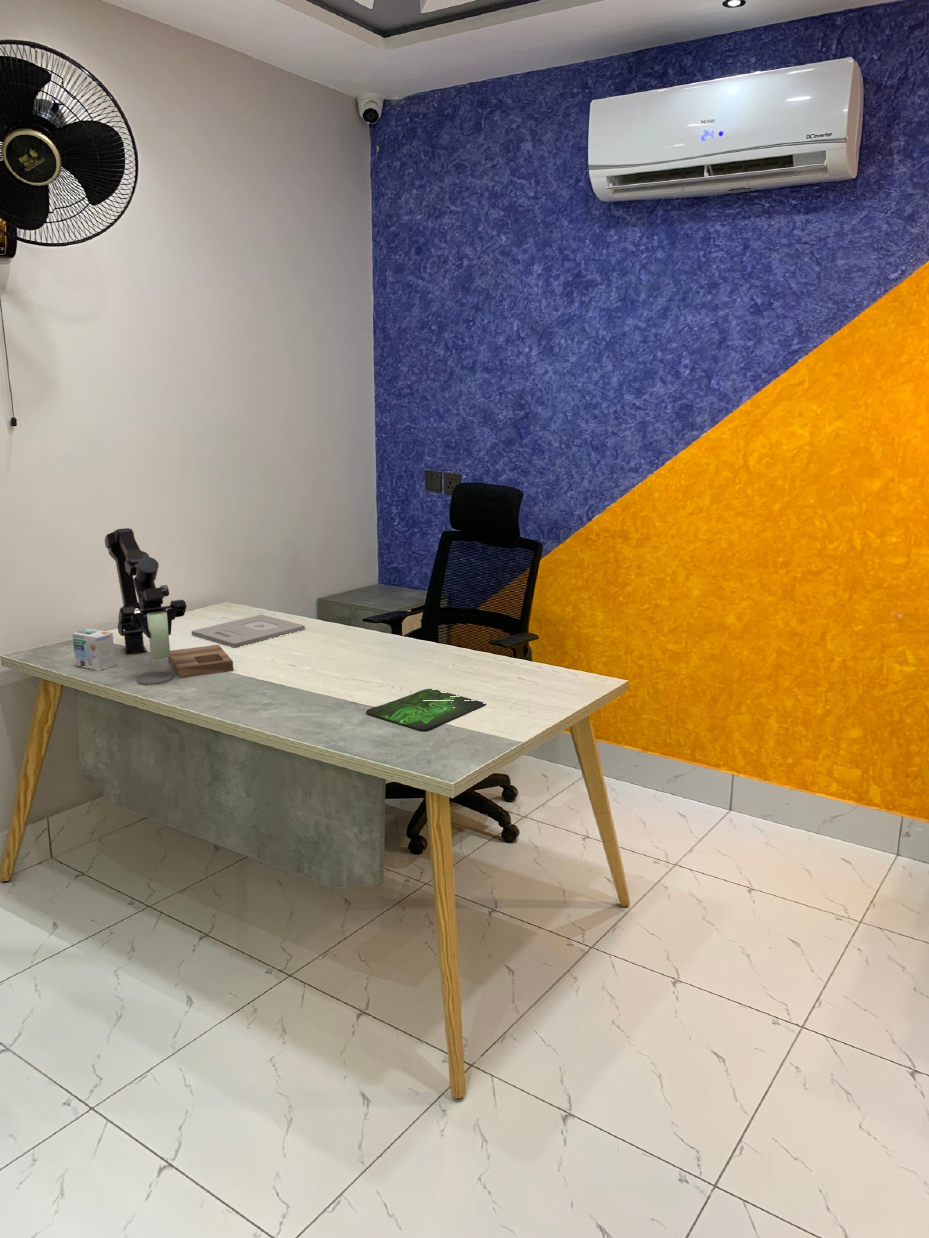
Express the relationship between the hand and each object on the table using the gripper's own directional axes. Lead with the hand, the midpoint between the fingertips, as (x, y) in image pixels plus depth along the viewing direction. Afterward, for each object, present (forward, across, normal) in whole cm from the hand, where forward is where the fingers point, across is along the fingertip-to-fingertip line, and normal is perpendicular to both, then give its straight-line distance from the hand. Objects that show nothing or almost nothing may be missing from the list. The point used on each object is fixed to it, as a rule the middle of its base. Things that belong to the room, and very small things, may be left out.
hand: (159, 636), depth 267 cm
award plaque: (-16, +39, +36) cm, 56 cm away
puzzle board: (+4, +13, +16) cm, 21 cm away
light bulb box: (-8, -14, +28) cm, 32 cm away
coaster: (+8, -2, +11) cm, 14 cm away
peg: (+4, 0, +6) cm, 7 cm away
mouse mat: (+54, +53, -35) cm, 84 cm away
